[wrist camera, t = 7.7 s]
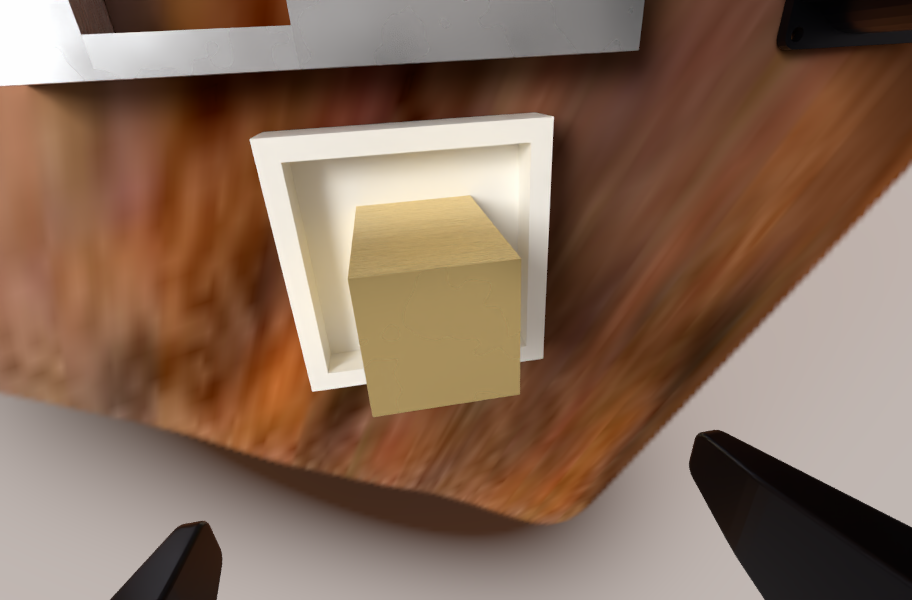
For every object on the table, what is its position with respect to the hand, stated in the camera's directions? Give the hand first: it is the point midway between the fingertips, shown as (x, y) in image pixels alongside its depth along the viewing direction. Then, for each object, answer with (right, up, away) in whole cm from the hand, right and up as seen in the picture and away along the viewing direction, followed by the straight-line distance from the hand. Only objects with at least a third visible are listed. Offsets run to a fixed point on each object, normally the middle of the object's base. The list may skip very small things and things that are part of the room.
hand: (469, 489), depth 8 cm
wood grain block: (-2, +5, +11) cm, 12 cm away
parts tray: (-2, +6, +11) cm, 12 cm away
